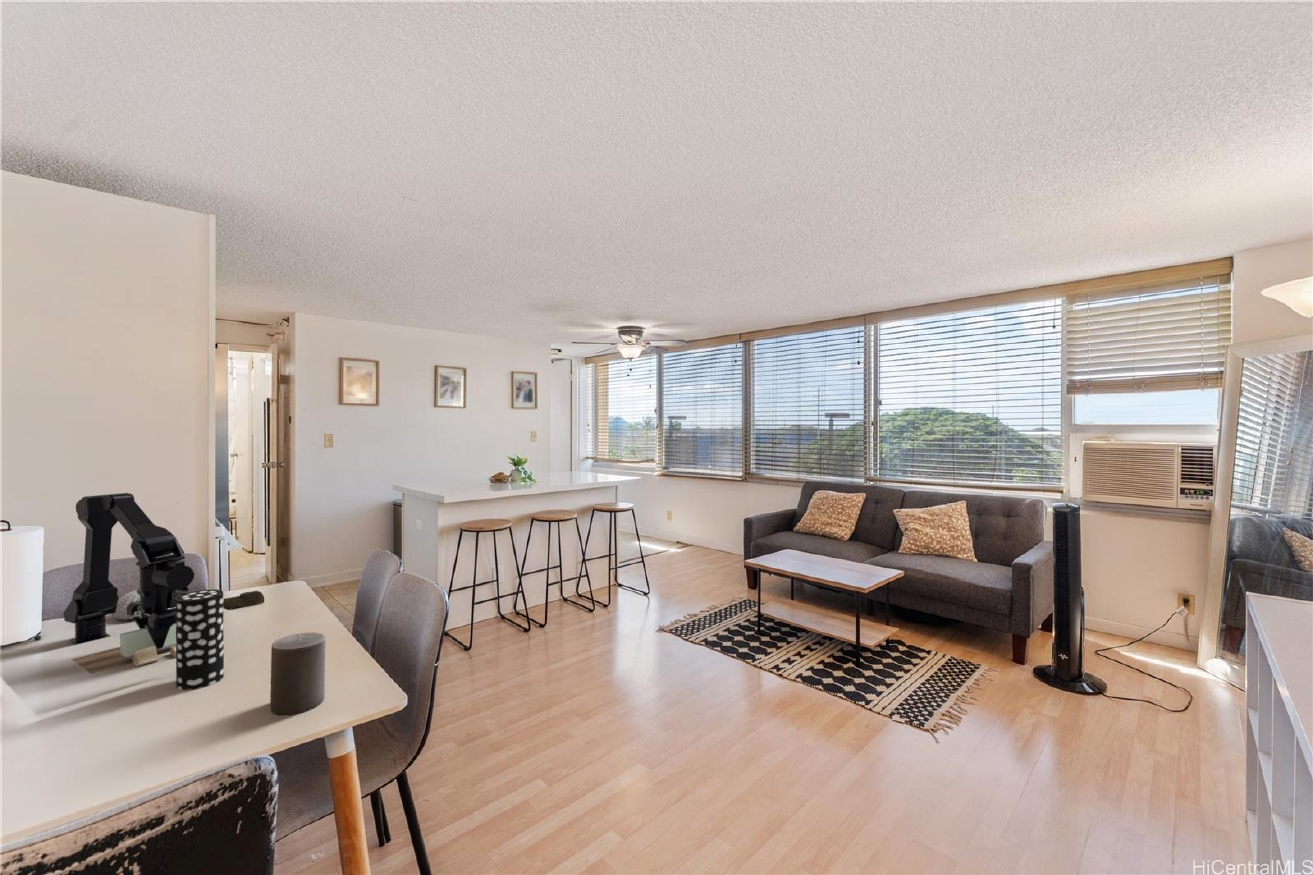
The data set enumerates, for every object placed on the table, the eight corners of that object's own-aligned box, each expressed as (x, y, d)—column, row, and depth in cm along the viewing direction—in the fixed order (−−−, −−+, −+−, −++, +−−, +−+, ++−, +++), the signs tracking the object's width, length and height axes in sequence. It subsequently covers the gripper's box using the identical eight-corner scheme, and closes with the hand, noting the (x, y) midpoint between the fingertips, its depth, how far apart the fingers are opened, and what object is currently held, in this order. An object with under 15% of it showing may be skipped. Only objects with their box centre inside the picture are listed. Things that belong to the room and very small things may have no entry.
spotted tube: (232, 676, 126) (231, 591, 126) (191, 692, 119) (191, 603, 118) (208, 670, 129) (207, 587, 128) (167, 686, 121) (166, 598, 121)
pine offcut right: (170, 646, 134) (176, 651, 132) (188, 641, 137) (194, 646, 135) (170, 660, 134) (175, 664, 132) (188, 655, 137) (193, 659, 135)
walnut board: (72, 665, 130) (72, 659, 130) (195, 632, 151) (195, 627, 151) (91, 680, 123) (91, 673, 123) (218, 643, 144) (217, 638, 144)
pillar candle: (283, 720, 108) (284, 647, 108) (261, 706, 113) (262, 635, 113) (334, 700, 116) (335, 632, 116) (311, 688, 122) (312, 622, 121)
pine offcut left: (131, 657, 129) (135, 650, 128) (150, 652, 132) (154, 645, 131) (135, 671, 128) (139, 664, 127) (154, 665, 131) (158, 658, 130)
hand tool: (186, 618, 162) (186, 603, 162) (187, 614, 165) (187, 599, 165) (264, 606, 174) (264, 592, 174) (263, 602, 177) (263, 588, 177)
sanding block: (120, 656, 130) (119, 633, 131) (183, 640, 141) (182, 619, 141) (126, 658, 128) (125, 635, 129) (189, 641, 139) (188, 620, 139)
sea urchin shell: (136, 608, 170) (135, 583, 169) (183, 607, 171) (182, 582, 171) (97, 624, 157) (97, 596, 156) (148, 622, 158) (148, 595, 158)
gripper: (211, 582, 136) (212, 643, 137) (181, 571, 146) (182, 627, 146) (153, 594, 127) (154, 659, 127) (125, 581, 136) (126, 642, 137)
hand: (156, 646), depth 135 cm, fingers closed on sanding block, 4 cm apart
